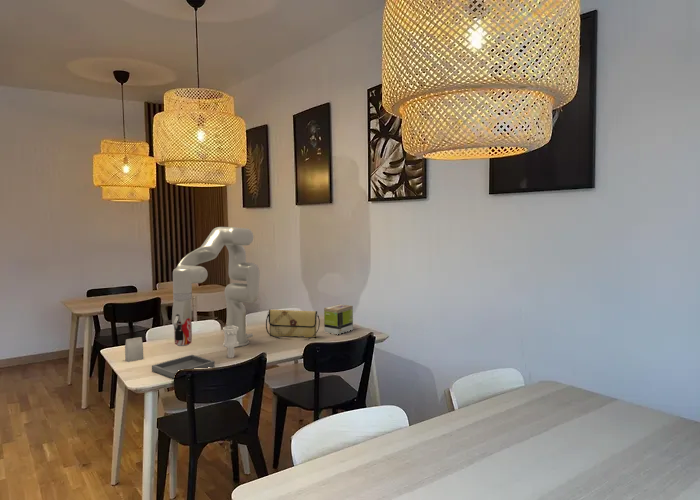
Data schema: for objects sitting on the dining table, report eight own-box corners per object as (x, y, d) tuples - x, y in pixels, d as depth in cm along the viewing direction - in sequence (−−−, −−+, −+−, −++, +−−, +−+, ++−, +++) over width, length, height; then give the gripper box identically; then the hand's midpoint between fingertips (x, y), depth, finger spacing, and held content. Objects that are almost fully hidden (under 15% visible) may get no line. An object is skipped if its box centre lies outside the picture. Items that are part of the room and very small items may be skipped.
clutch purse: (264, 338, 252) (264, 311, 251) (267, 335, 259) (267, 308, 258) (318, 341, 248) (318, 313, 247) (320, 337, 255) (320, 310, 254)
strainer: (230, 359, 215) (230, 327, 213) (219, 357, 218) (219, 325, 217) (241, 356, 221) (241, 324, 219) (231, 353, 224) (230, 322, 223)
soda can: (186, 347, 196) (185, 319, 195) (171, 346, 198) (170, 318, 197) (195, 343, 203) (194, 315, 202) (180, 341, 205) (179, 315, 204)
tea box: (339, 328, 278) (339, 303, 276) (353, 330, 272) (353, 305, 271) (323, 333, 265) (323, 307, 264) (337, 335, 259) (337, 309, 258)
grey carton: (143, 359, 214) (142, 337, 214) (127, 362, 210) (127, 340, 209) (140, 357, 217) (140, 336, 216) (125, 360, 213) (124, 338, 212)
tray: (192, 359, 214) (192, 354, 214) (214, 366, 205) (214, 361, 204) (151, 371, 198) (151, 365, 198) (173, 379, 188) (173, 373, 188)
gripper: (182, 293, 208) (183, 332, 209) (164, 300, 190) (165, 343, 192) (199, 293, 207) (199, 333, 208) (182, 300, 190) (182, 343, 191)
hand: (183, 337), depth 200 cm, fingers closed on soda can, 6 cm apart
